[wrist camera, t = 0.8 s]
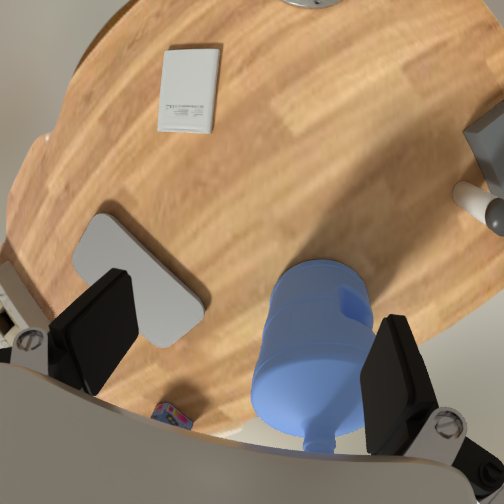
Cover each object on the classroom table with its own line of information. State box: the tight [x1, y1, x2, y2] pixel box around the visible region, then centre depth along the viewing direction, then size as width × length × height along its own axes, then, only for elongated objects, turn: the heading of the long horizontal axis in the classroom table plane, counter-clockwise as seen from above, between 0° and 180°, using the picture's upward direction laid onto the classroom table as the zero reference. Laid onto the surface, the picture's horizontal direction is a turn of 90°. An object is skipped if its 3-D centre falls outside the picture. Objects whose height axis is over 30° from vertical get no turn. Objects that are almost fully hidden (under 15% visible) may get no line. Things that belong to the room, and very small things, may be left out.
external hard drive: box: [157, 49, 221, 134], centre depth 37 cm, size 2×8×12 cm
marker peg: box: [452, 181, 504, 236], centre depth 30 cm, size 4×4×12 cm
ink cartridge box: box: [151, 402, 193, 430], centre depth 62 cm, size 10×6×14 cm, turn 38°
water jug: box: [251, 259, 376, 454], centre depth 35 cm, size 16×16×28 cm
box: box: [0, 260, 51, 348], centre depth 64 cm, size 23×8×32 cm
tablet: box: [72, 213, 205, 348], centre depth 51 cm, size 16×26×2 cm, turn 46°
